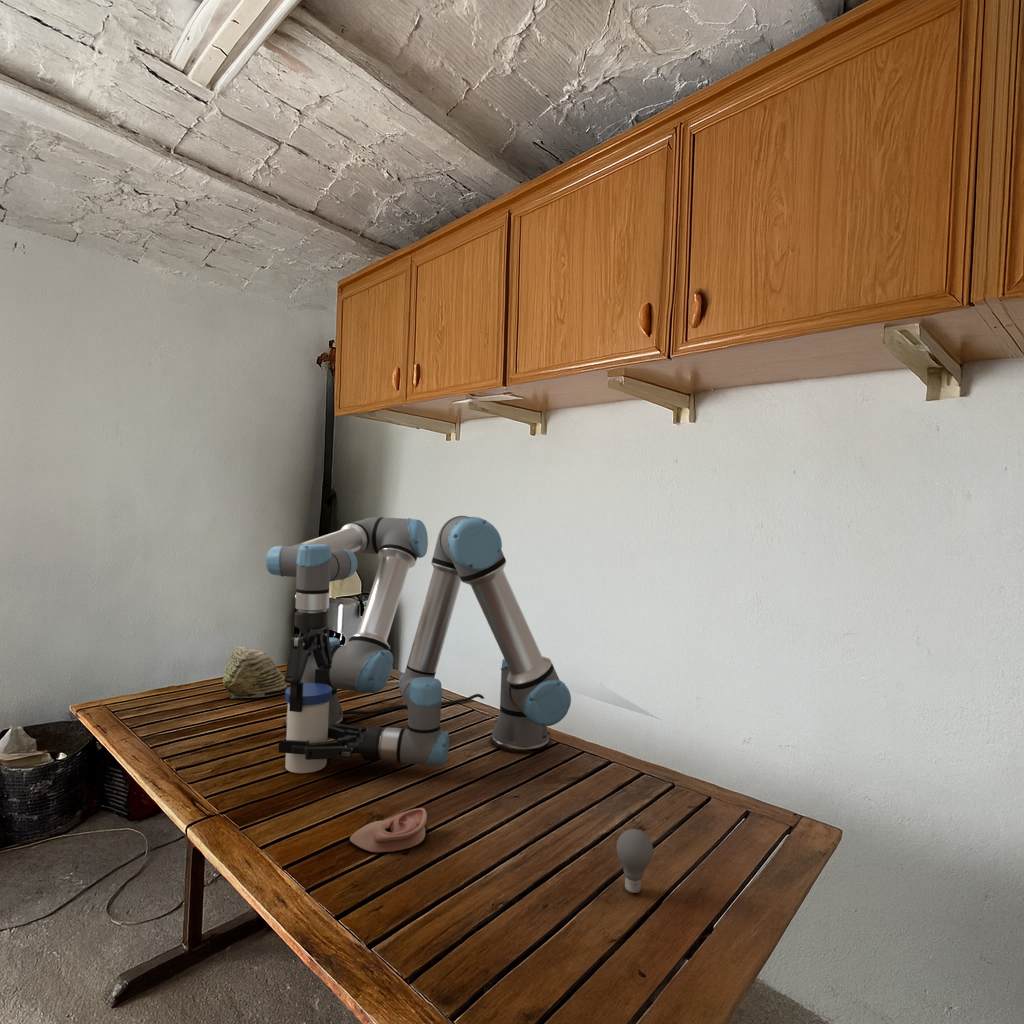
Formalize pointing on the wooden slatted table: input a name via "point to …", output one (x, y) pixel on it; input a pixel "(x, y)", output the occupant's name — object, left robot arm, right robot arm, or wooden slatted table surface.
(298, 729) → the jar
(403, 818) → the anatomical model
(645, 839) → the light bulb
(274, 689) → the fossil
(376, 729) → the right robot arm
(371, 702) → the wooden slatted table surface
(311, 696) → the lid
